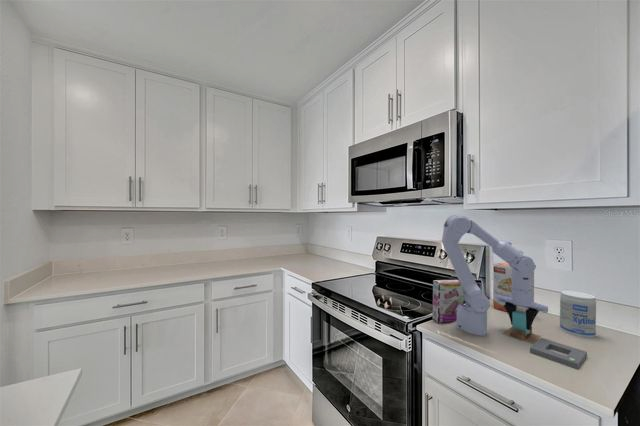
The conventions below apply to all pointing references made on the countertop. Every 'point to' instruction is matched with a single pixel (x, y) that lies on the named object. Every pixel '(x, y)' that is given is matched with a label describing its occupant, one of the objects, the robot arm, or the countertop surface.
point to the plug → (520, 321)
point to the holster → (522, 335)
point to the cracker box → (505, 285)
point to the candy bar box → (446, 300)
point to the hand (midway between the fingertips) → (521, 326)
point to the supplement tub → (578, 313)
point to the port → (572, 360)
